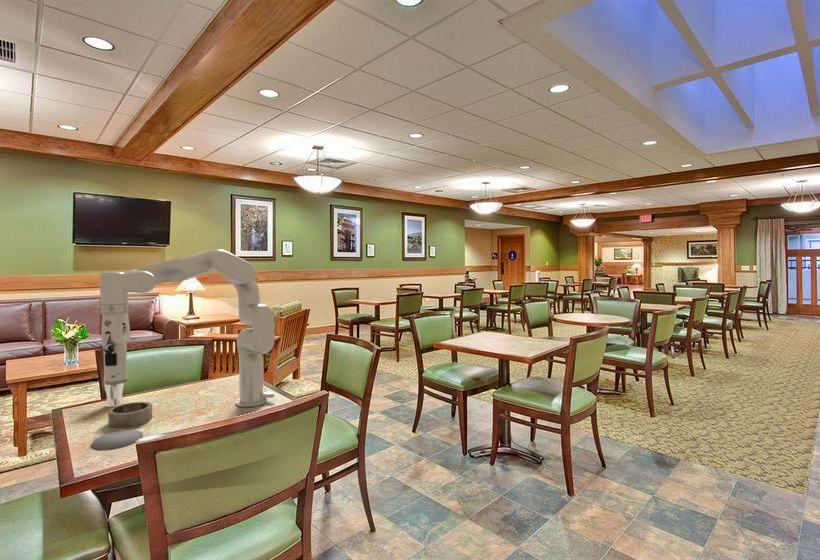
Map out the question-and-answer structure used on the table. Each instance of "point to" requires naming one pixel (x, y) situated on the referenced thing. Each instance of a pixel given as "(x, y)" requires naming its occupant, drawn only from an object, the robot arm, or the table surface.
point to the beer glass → (114, 394)
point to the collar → (130, 414)
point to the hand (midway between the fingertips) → (116, 362)
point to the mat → (117, 439)
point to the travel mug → (119, 371)
